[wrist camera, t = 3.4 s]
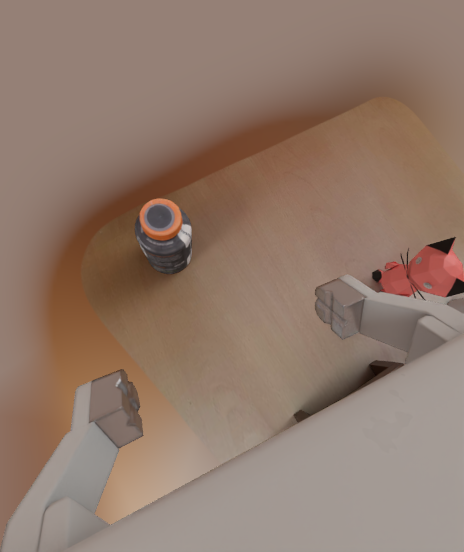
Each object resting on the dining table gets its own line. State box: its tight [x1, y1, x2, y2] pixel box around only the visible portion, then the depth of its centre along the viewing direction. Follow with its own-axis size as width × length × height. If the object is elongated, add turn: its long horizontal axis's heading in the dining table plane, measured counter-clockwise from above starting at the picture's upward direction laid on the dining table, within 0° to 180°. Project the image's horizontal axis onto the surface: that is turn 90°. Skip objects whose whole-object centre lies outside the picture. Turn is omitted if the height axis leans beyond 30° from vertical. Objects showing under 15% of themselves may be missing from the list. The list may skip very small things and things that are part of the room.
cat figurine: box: [373, 237, 464, 300], centre depth 35 cm, size 7×7×12 cm
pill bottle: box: [135, 199, 192, 274], centre depth 31 cm, size 6×6×11 cm
